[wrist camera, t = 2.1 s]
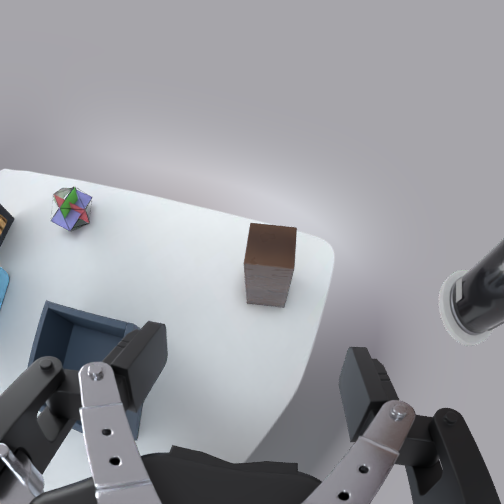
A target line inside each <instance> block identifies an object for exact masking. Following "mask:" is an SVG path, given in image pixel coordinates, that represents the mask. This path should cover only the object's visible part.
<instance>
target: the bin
mask: <svg viewBox="0 0 504 504" xmlns="http://www.w3.org/2000/svg"><path fill="white" fill-rule="evenodd" d="M136 329H138V330H140V328H139V327H137V326H136V325H135V324H133V323H127V322H124V321H119V320H115V319H111V318H107V317H103V316H99V315H95V314H92V313H88V312H84V311H80V310H77V309H73V308H70V307H66V306H63V305H60V304H56V303H53V302H50V301H47V300H46V302H45V305H44V308H43V311H42V314H41V317H40V321H39V324H38V327H37V331H36V335H35V338H34V342H33V346H32V350H31V354H30V358H29V363H28V367H29V366H30V365H31V364H32V363H33V362H35V361H36V360H37V359H39V358H41V357H45V356H53V357H56V358H58V359H59V360H60V361H61V363H62V366H63V369H69V370H78V371H79V370H80V369H81V367H83V366H84V365H85V364H88V363H91V362H102V361H103V360H104V358H105V357H106V356H107V355H108V354H109V353H110V352H111V351H112V350H113V349H114V347H115V346H117V344H118V343H119V342H120V341H122V339H123V338H124V337H125V336H126V334H128V333H130V332H132V331H134V330H136ZM142 405H143V403H142ZM142 405H141V407H140V408H139V410H138V412H137V413H135V412H132V411H129V410H127V411H126V413H125V414H126V417H127V420H128V423H129V426H130V429H131V432H132V435H133V438H134V440H137V436H138V429H139V423H140V417H141V411H142ZM46 406H47V404H46V402H45V403H44V405H43V406H42V407H41V408H40V410H39V411H40V412H42V411H43V410H44V409H45V407H46ZM72 429H74V430H77V431H79V432H81V433H83V429H82V423H81V420H77V421H76V423H75V424H74V426H73V427H72Z"/></svg>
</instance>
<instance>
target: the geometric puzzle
mask: <svg viewBox="0 0 504 504" xmlns="http://www.w3.org/2000/svg"><path fill="white" fill-rule="evenodd" d="M77 189H78V188H77ZM69 192H70V193H69ZM82 192H83V191H82ZM82 192H80V191H78V190H76V188H75V186H74V188H73V187H72V188H61V189H60V190H59V191H57V192H56V193H54V194H53V195H54V201H55V203H56V204H57V206H58V207H59V209H58V210H57V212H56V213H55V215H54V216H53V218H52V220H51V221H52V222H54V223H55V224H57V225H59V226H61V227H63V228H65V229H67V230H68V231H71V230H72V228H73V227H74V225H75V224H76V221H78V220H79V219H78V218H80V219H82V220H84V221H86V222H88V224H90V223H89V222H90V220H88V216H87V213H86V209H85V207H86V206H88V205H87V204H89V203H90V202H89V201H91V199H92V197H91V196H88V194H87V195H86V194H84V193H82ZM68 193H69V194H68ZM67 194H68V196H67V197H66V198H65V200H64V197H65V196H66V195H67ZM52 203H53V202H52ZM91 203H92V201H91ZM86 208H87V207H86ZM90 212H91V210H90ZM51 214H52V212H51ZM77 219H78V220H77ZM84 225H87V224H84ZM77 227H79V226H77ZM81 227H82V225H81ZM74 228H75V227H74ZM76 229H77V228H76ZM74 230H75V229H74Z"/></svg>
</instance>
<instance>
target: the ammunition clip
mask: <svg viewBox="0 0 504 504" xmlns="http://www.w3.org/2000/svg"><path fill="white" fill-rule="evenodd" d="M13 220H14V218H13V217H12V216H11V215H10V213H9V212H8V211H7V210H6V209H5V208H4V207H3V206H2V205H1V204H0V246H1V244H2V242H3V240H4V238H5V236H6V234H7V232H8V230H9V228H10V226H11V224H12V222H13Z"/></svg>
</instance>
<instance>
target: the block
mask: <svg viewBox="0 0 504 504" xmlns="http://www.w3.org/2000/svg"><path fill="white" fill-rule="evenodd" d="M296 232H297V228H294V227H286V226H276V225H267V224H257V223H250V228H249V234H248V241H247V247H246V253H245V259H244V272H245V285H246V297H247V303H250V304H258V305H267V306H276V307H284V306H285V302H286V298H287V295H288V291H289V287H290V283H291V279H292V275H293V271H294V264H295V249H296Z"/></svg>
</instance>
